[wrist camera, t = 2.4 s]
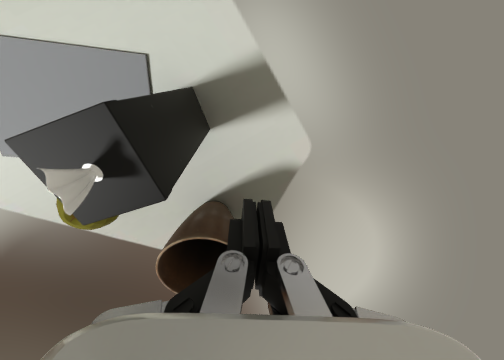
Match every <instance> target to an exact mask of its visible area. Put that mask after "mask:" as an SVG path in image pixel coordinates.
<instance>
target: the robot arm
mask: <svg viewBox="0 0 504 360" xmlns="http://www.w3.org/2000/svg"><path fill="white" fill-rule="evenodd" d="M254 279H255V289H258V290H259V295H260V296H263V298H264V299H265V300H266V301H267V302H268V310H269V314H270V315H256V314H241V310H242V304H243V303H244V302H245V301H246V300H247V299H248V298H249V297H250V293H251V289H253V285H254ZM41 360H481V359H480V358H479V357H478V356H477V355H476V354H474V352H472V351H471V350H470V349H469V348H467V347H466V346H465V345H463V344H462V343H460V342H459V341H456V340H455V339H453V338H451V337H449V336H447V335H445V334H443V333H440V332H438V331H435V330H433V329H430V328H428V327H424V326H421V325H417V324H413V323H408V322H406V321H404V320H402V319H400V318H398V317H394V316H390V315H386V314H383V313H379V312H375V311H372V310H367V309H364V308H360V307H355V309H354V308H352V307H351V306H350V305H349V304H348V303H347V302H345V301H344V300H343V299H341V298H340V297H339V296H337V295H336V294H334V293H333V292H332V291H330V290H329V289H328V288H326V287H325V286H323V285H322V284H321V283H319V282H318V281H316V280H315V279H314V278H313V277H312V275H311V273H310V271H309V269H308V267H307V265H306V264H305V262H304V260H302V259H301V258H300V257H299V256H297V255H294V254H291V252H290V249H289V246H288V241H287V238H286V234H285V230H284V226H283V223H282V222H275V219H274V215H273V210H272V206H271V201H266V200H261V202H258V205H257V211H256V202H253V200H252V199H244V200H243V209H242V219H241V220H240V219H230V223H229V233H228V242H227V251H226V252H224V253H222V254H221V255H220V256H219V258H218V260H217V263H216V266H215V268H214V269H212V270H211V271H210V272H208V273H207V274H205V275H204V276H202V277H201V278H199V279H198V280H197V281H195V282H194V283H192V284H191V285H189V286H188V287H187V288H185V289H184V290H182V291H181V292H179V293H178V294H177V295H175V296H174V297H173V298H172V299H170V301H166V302H162V300H158V301H152V302H147V303H142V304H136V305H132V306H126V307H121V308H115V309H111V310H108V311H106V312H104V313H102V314H101V315H100V316H98V317H97V318H96V319H95V320H94V321H93V322H92V324H91V325H90V326H87V327H85V328H83V329H81V330H79V331H77V332H75V333H73V334H71V335H69V336H68V337H66V338H65V339H63V340H62V341H60V342H59V343H58V344H57V345H55V346H54V347H53V348H52V349H51V350H50V351H49V352H48V353H47V354H46V355H45V356H44V357H43V358H42V359H41Z"/></svg>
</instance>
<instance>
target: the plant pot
mask: <svg viewBox="0 0 504 360" xmlns="http://www.w3.org/2000/svg"><path fill="white" fill-rule="evenodd" d="M230 219H234V218H233V216H232V214H231V212H230V211H229V209H228V208H227V206H226V205H224V204H223V203H221V202H217V201H210V202H206V203H204V204H203V205H201V206H200V207H199V208H197V209H196V210H195V211H194V212H193V213H192V214H191V215H190V216H189V217H188V218H187V219H186V220H185V221H184V222H183V223H182V224H181V225H180V227H179V228H178V229H177V230H176V231H175V233H174V234H173V235H172V237H171V238H170V240H169V241H168V242H167V244H166V245H165V247H164V248H163V250H162V251H161V253H160V254H159V256H158V258H157V261H156V272H157V275H158V278H159V279H160V281H161V282H162V283H163V284H164V285H165V286H166V287H167V288H168V289H169V290H171V291H173V292H174V293H176V294H178V293H179V292H181V291H182V290H184V289H185V288H187V287H188V286H189V285H191V284H192V283H194V282H195V281H197V280H198V279H199V278H201V277H202V276H204V275H205V274H207V273H208V272H210V271H211V270H212V269H214V268H215V266H216V263H217V260H218V258H219V256H220V255H221V254H222V253H224V252H226V251H227V242H228V233H229V223H230Z"/></svg>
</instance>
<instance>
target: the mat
mask: <svg viewBox="0 0 504 360" xmlns="http://www.w3.org/2000/svg"><path fill="white" fill-rule="evenodd" d="M150 94H151V93H150V84H149V75H148V66H147V57H146V55H144V54H137V53H129V52H121V51H113V50H105V49H98V48H90V47H82V46H74V45H67V44H59V43H51V42H43V41H35V40H28V39H20V38H12V37H4V36H0V152H1V154H2V156H9V157H18V155H17V154H16V153H15V152H14V151H13V150H12V149H11V148H10V147H9V146H8V145H7V144H6V143H5V139H8V138H10V137H13V136H16V135H18V134H21V133H23V132H26V131H29V130H31V129H34V128H36V127H39V126H42V125H44V124H47V123H49V122H52V121H55V120H57V119H60V118H62V117H65V116H68V115H70V114H73V113H75V112H78V111H81V110H83V109H86V108H88V107H91V106H94V105H96V104H99V103H101V102H104V101H110V100H122V99H128V98H134V97H139V96H145V95H150Z"/></svg>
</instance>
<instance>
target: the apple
mask: <svg viewBox="0 0 504 360" xmlns="http://www.w3.org/2000/svg"><path fill="white" fill-rule="evenodd" d="M56 205H57V209H58V212H59V216H60V218H61V219H62V220H63V222H65V223H67V224H68V225H70V226H72V227H75V228H78V229H87V230H93V229H97V228H101V227H103V226H106V225H108V224H110V223H111V222H113V221H114V220H116V219H117V217H118V216H119V215H117V216H114V217H110V218H107V219H104V220H101V221H98V222H94V223H91V224H88V225H85V226H84V225H82V224H81V223H80V222H79V221H78V220H77V219H76V218H75V216H74V215H73V214H71V215H68V214H66V213H65V211H64V208H63V204H62V203H61V201H60V200H59V199H58V198H57V203H56Z"/></svg>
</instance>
